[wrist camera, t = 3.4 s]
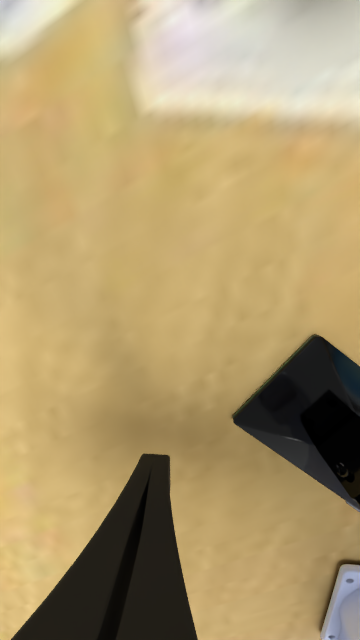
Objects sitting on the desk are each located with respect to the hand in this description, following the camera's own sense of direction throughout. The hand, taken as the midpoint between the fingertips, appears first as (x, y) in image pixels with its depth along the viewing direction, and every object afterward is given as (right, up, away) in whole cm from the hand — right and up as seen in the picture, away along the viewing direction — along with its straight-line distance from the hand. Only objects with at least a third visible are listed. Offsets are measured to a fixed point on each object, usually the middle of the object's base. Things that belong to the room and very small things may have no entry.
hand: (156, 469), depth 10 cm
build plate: (+11, +1, +2) cm, 12 cm away
